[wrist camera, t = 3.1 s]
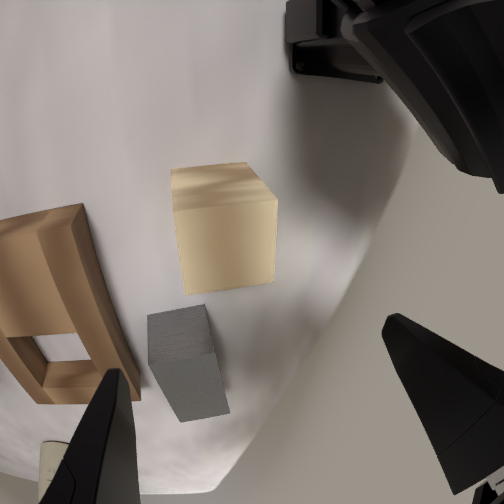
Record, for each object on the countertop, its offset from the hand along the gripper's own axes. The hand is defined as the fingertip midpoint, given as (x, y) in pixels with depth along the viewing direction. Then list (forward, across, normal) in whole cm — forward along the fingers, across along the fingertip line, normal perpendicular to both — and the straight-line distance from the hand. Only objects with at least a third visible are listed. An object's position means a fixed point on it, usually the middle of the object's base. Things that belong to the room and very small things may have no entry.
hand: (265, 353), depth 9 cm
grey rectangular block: (+12, +3, +13) cm, 18 cm away
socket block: (+12, +14, +8) cm, 20 cm away
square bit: (+12, 0, 0) cm, 12 cm away
